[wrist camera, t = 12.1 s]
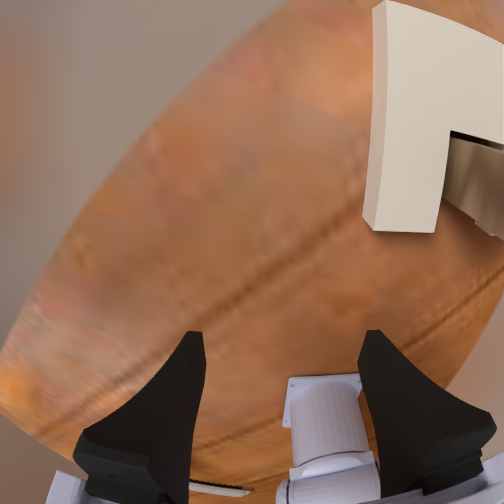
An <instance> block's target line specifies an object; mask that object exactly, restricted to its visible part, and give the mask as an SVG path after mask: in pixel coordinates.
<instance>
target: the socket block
mask: <svg viewBox="0 0 504 504" xmlns="http://www.w3.org/2000/svg"><path fill="white" fill-rule="evenodd" d="M372 22H373V98H372V119H371V135H370V148H369V160H368V170H367V180H366V189H365V197H364V205H363V213H362V217H363V218H364V220H365V221H366V222H367V223H368V225H369V226H370V227H371V228H372V229H373V231H399V232H425V233H434V230H435V226H436V221H437V216H438V211H439V206H440V201H441V196H442V190H443V184H444V178H445V171H446V164H447V156H448V148H449V139H450V130H452V131H456V132H461V133H465V134H468V135H472V136H476V137H480V138H483V139H487V140H489V143H488V146H489V147H492V148H495V149H498V150H501V151H504V44H502V43H500V42H498V41H496V40H494V39H492V38H490V37H488V36H486V35H484V34H482V33H480V32H477V31H475V30H473V29H471V28H468V27H466V26H464V25H461V24H459V23H457V22H454V21H451V20H449V19H446V18H444V17H441V16H438V15H435V14H433V13H430V12H427V11H424V10H421V9H417V8H414V7H411V6H408V5H404V4H401V3H397V2H393V1H389V0H384V1H383V2H381V3H380V4H379V5H377V6H376V7H374V8H373V9H372ZM474 224H476V225H477V226H478V227H480V228H481V229H482V230H484V231H485V232H486V233H488V234H489V235H490V236H496V235H495V234H494V233H492V232H491V231H490V230H488V229H487V228H486V227H484V226H483V225H482V224H480V223H479V222H477V221H476V220H475V222H474Z"/></svg>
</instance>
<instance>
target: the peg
mask: <svg viewBox="0 0 504 504" xmlns="http://www.w3.org/2000/svg"><path fill="white" fill-rule="evenodd" d="M441 197H442V198H444V199H445V200H447V201H448V202H450V203H451V204H453V205H454V206H456V207H457V208H459V209H460V210H462V211H463V212H465V213H466V214H468V215H469V216H470V217H472V218H473V219H475V220H476V221H477V222H479V223H480V224H482V225H483V226H484V227H486V228H487V229H488V230H490V231H491V232H492V233H494V234H495V235H496V236H498V237H499V238H500V239H501V240H503V241H504V151H501V150H498V149H495V148H492V147H489V146H486V145H483V144H480V143H476V142H472V141H468V140H464V139H460V138H456V137H451V136H450V139H449V148H448V156H447V164H446V171H445V178H444V184H443V190H442V196H441Z"/></svg>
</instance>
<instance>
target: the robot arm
mask: <svg viewBox="0 0 504 504" xmlns="http://www.w3.org/2000/svg"><path fill="white" fill-rule="evenodd" d="M357 363H358V369H359V373H355V374H343V375H327V376H306V377H291V378H289V380H288V386H287V393H286V400H285V407H284V414H283V421H282V426H283V427H291V436H292V450H293V465H294V468H291V469H289V471H290V478H285V479H283V481H282V482H281V484H280V485H279V486H278V488H277V492H276V504H501V503H502V502H504V452H500V453H498V454H496V455H494V456H492V457H490V458H488V459H486V460H484V461H483V462H481V460H480V457H481V456H482V451H481V448H482V447H483V446H484V445H485V444H486V443H487V442H488V441H489V440H490V439H491V438H492V437H493V435H494V434H495V432H496V430H497V427H496V424H495V422H494V420H493V418H492V416H491V414H490V413H489V412H486V411H484V410H481V409H479V408H477V407H474V406H472V405H470V404H468V403H466V402H464V401H462V400H460V399H458V398H457V397H455V396H453V395H452V394H450V393H449V392H447V391H445V390H444V389H442V388H441V387H440V386H438V385H437V384H436V383H434V382H433V381H432V380H430V379H429V378H428V377H427V376H425V375H424V374H423V373H422V372H421V371H420V370H419V369H417V368H416V367H415V366H414V365H413V364H412V363H411V362H410V361H409V360H408V359H407V358H406V357H405V356H404V355H403V354H402V353H401V352H400V351H399V350H398V349H397V348H396V347H395V346H394V345H393V343H392V342H391V341H390V340H389V339H388V338H387V337H386V336H385V335H384V334H383V333H382V332H381V331H380V330H367V332H366V336H365V339H364V342H363V346H362V349H361V352H360V355H359V358H358V361H357ZM205 372H206V358H205V351H204V343H203V336H202V332H197V331H188V332H186V334H185V335H184V337H183V338H182V340H181V342H180V343H179V345H178V346H177V347H176V349H175V350H174V352H173V353H172V354H171V356H170V357H169V358H168V360H167V361H166V362H165V364H164V365H163V366H162V367H161V369H160V370H159V371H158V372H157V373H156V374H155V376H154V377H153V378H152V379H151V380H150V381H149V382H148V383H147V384H146V385H145V386H144V387H143V388H142V389H141V390H140V391H139V392H138V393H137V394H136V395H135V396H133V397H132V398H131V399H130V400H129V401H128V402H126V403H125V404H124V405H123V406H121V407H120V408H118V409H117V410H116V411H114V412H113V413H111V414H110V415H108V416H107V417H105V418H104V419H102V420H100V421H99V422H97V423H95V424H93V425H91V426H89V427H88V428H85V429H84V430H83V432H82V434H81V435H80V437H79V439H78V442H77V444H76V447H75V450H74V453H73V455H72V456H73V459H74V461H75V462H76V463H77V464H78V465H79V466H80V467H81V468H82V469H83V470H84V471H85V472H86V473H87V474H88V475H89V477H88V480H87V481H86V480H84V479H82V478H80V477H77V476H74V475H71V474H68V473H65V472H63V471H60V470H57V472H56V474H55V477H54V480H53V483H52V486H51V489H50V492H49V495H48V498H47V501H46V504H188V501H189V478H190V463H191V452H192V442H193V433H194V427H195V422H196V418H197V413H198V409H199V405H200V400H201V396H202V392H203V387H204V381H205ZM362 387H363V391H364V394H365V397H366V400H367V403H368V407H369V410H370V413H371V416H372V420H373V424H374V428H375V434H376V440H377V447H378V456H379V458H378V459H375V460H374V456H373V451H370V449H369V444H368V440H367V436H366V432H365V428H364V424H363V419H362V415H361V412H360V408H359V404H358V400H357V399H358V396H359V394H360V392H361V389H362Z"/></svg>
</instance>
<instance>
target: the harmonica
mask: <svg viewBox="0 0 504 504" xmlns="http://www.w3.org/2000/svg"><path fill="white" fill-rule="evenodd" d="M197 482H198V480H196V481H195V482H192V479H190V481H189V490H193V491H198V492H204V493H210V494H217V495H225V496H233V497H242V496H243V495H249V494H250V493H251V492H253V488H249V487H240V488H239V489H238V488H237V486H234V488H231V485H229V487H226V485H223V487H222V486H220V484H218V485H217V486H215V485H214V484H215V483H212V485H209V482H207V483H206V484H203V481H201V483H197Z"/></svg>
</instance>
